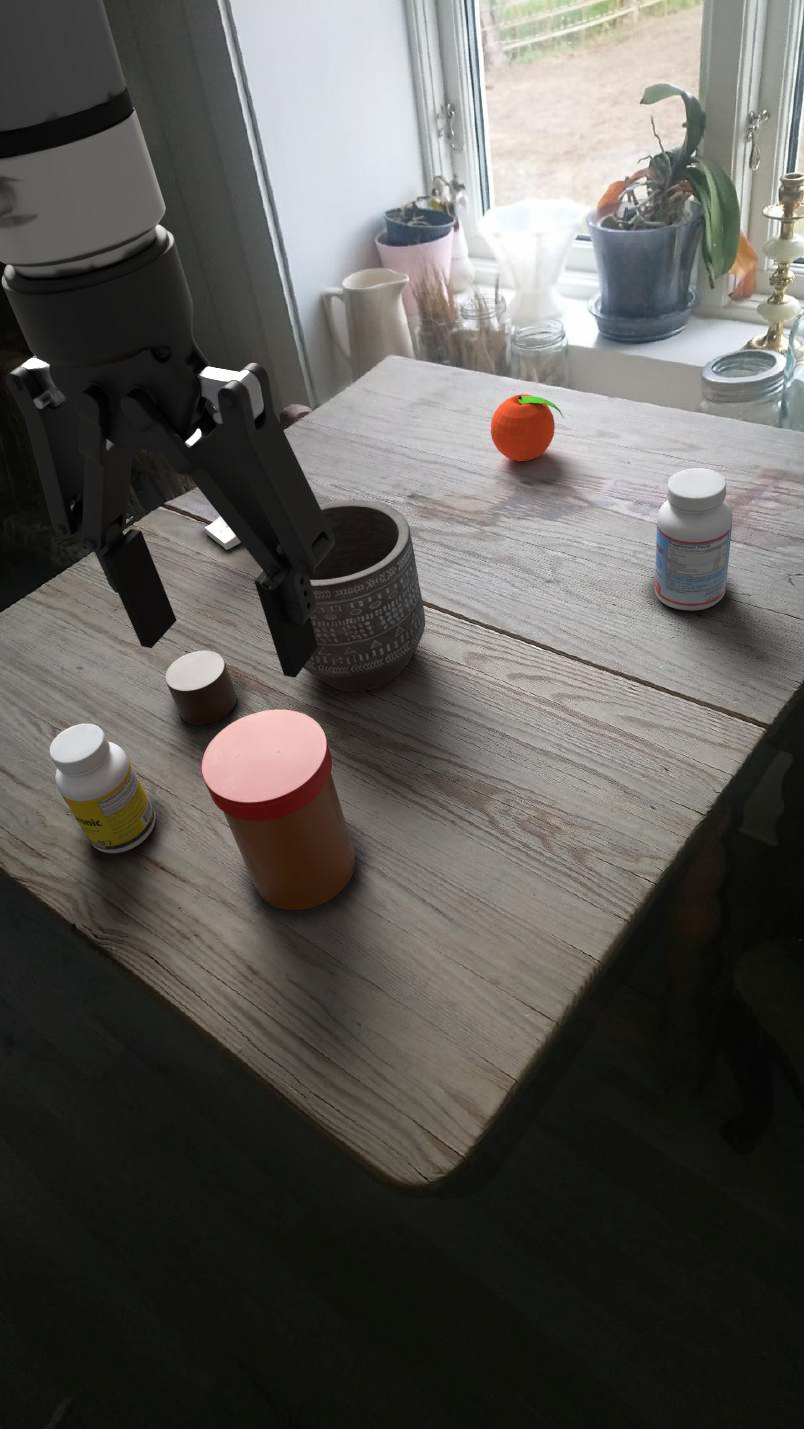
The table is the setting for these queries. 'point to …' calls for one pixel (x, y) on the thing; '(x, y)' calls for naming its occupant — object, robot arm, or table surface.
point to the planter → (365, 597)
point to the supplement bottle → (101, 789)
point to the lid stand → (201, 687)
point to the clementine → (523, 427)
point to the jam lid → (267, 765)
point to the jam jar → (298, 853)
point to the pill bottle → (693, 540)
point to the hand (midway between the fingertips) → (227, 646)
